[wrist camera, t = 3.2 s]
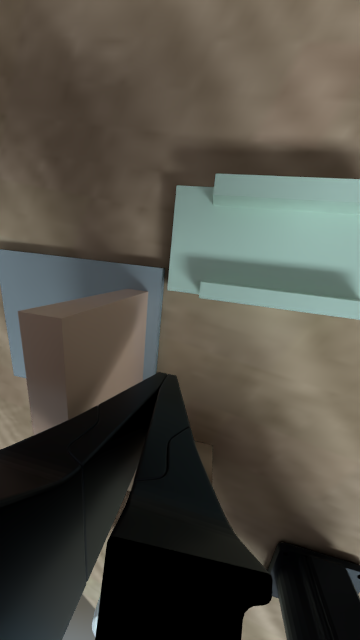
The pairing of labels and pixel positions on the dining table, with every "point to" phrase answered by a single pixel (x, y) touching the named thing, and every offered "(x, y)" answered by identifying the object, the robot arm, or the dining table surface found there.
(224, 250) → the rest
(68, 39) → the dining table surface
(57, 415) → the tile
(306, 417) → the dining table surface
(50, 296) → the mat
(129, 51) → the dining table surface
